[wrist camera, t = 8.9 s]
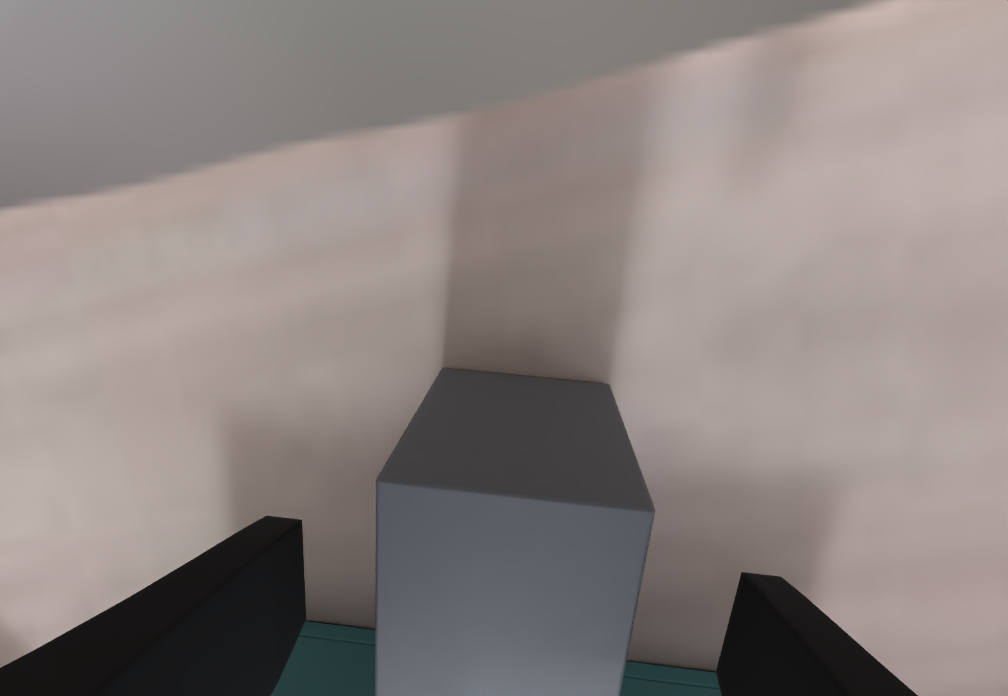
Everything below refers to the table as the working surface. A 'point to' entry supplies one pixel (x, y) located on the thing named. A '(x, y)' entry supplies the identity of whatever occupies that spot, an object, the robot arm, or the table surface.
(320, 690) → the tray
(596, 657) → the block
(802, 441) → the table surface
